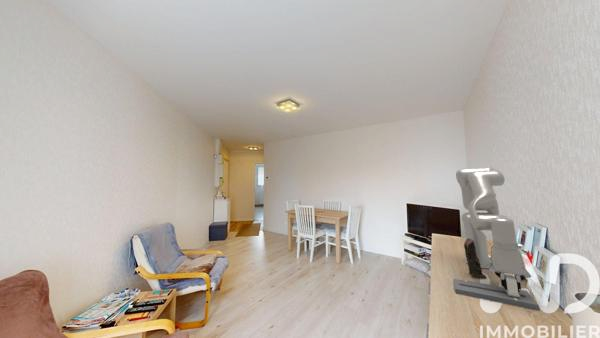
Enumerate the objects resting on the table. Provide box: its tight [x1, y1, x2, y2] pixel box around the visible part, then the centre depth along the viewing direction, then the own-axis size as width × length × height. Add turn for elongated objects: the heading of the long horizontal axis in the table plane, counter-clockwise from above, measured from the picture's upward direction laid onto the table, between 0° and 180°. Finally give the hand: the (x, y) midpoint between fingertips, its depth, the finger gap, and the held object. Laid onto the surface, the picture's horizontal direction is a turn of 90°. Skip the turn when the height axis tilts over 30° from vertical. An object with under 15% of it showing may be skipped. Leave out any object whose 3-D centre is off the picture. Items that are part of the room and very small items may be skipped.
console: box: [453, 277, 540, 311], centre depth 90 cm, size 26×12×2 cm, turn 55°
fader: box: [504, 273, 521, 298], centre depth 86 cm, size 4×7×7 cm, turn 145°
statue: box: [463, 238, 488, 280], centre depth 108 cm, size 7×7×20 cm
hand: (511, 289), depth 86 cm, fingers closed on fader, 3 cm apart
